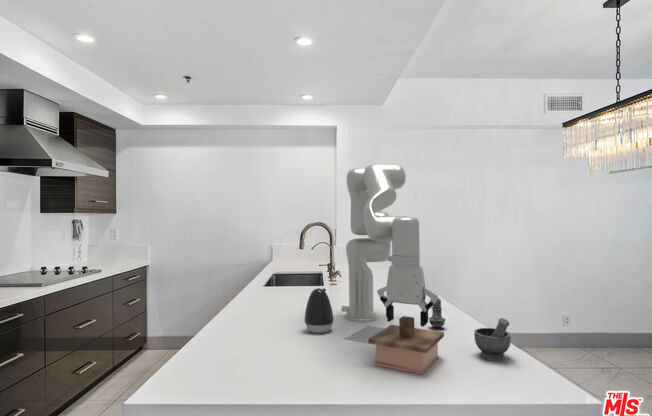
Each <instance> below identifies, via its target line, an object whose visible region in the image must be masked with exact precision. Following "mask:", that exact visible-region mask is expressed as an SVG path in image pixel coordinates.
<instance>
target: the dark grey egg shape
mask: <svg viewBox="0 0 652 416" xmlns="http://www.w3.org/2000/svg"><path fill="white" fill-rule="evenodd" d="M326 290H327V289H326V288H323V289H322V288H315V289H313V290H312V291H311V293H310V295H309V297H308V300H307V304H306V306H305V310H304V311H305V313H304V323H305V327H306V329H307V330H308V331H309V332H310V333H312V334H325V333H328V332H329V331H330V330H331V329H332V326H333V323H334V314H333V308H332V304H331V302H330V298H329V295H328V294H327V292H326Z"/></svg>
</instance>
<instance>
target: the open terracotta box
mask: <svg viewBox="0 0 652 416" xmlns="http://www.w3.org/2000/svg"><path fill="white" fill-rule="evenodd" d="M438 343H439V342H438ZM438 343H437V344H436V345H435V346H434V347H433V348H431V349H430V350H429V351H428V352H427V353H422V352H416V351H410V350H405V349H399V348H393V347H387V346H381V345H375V356H376V357H375V358H376V359H375V360H376V361H375V363H376V364H375V365H376V366H380V367H386V368H391V369H393V370H394V369H396V370H400V371H405V372H409V373H415V374H419V375H424V374H425V372H426V371H427V370H428V369H429V368H430V367H431V366H432V365H433V364H434V362H436V360H437V359H438V358H439V356H438V355H439V352H438V351H439V349H438V348H439V345H438Z"/></svg>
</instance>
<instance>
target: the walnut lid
mask: <svg viewBox="0 0 652 416" xmlns="http://www.w3.org/2000/svg"><path fill="white" fill-rule="evenodd" d="M398 323H399V325H395V324H389V326H387V327H384V328H385V329H384V330H382V331H380V332H379V333H377V334H375V335H374V336H372V337H371V338H369V343H370V344H369V345H374V344H376V345H381V346H387V347H393V348H399V349H405V350H410V351H416V352H422V353H427V352H428V351H429V350H430V349H431V348H433V347H434V346H435V345H436V344H437V343H439V342H440V341H441V340H442V339H444V337H445V332H444V331H440V330H432V329H426V328H425V329H424V328H418V327H415V317H412V316H406V315H403V316H402V317H400V318H398ZM376 345H375V346H376Z"/></svg>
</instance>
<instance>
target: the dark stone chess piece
mask: <svg viewBox="0 0 652 416" xmlns="http://www.w3.org/2000/svg"><path fill="white" fill-rule="evenodd" d="M431 310H432V316H431V317H428V323H429V324H430V325H431V327H430V330H432V331H443V330H445V328H444V327H443V326H444V325H445V323H446V318H444V317H443V315H442V310H443V308H442V300H441V298H439V297H438V298H437V300H436V302H435V304H434V305H433V306H432V307H431Z"/></svg>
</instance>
